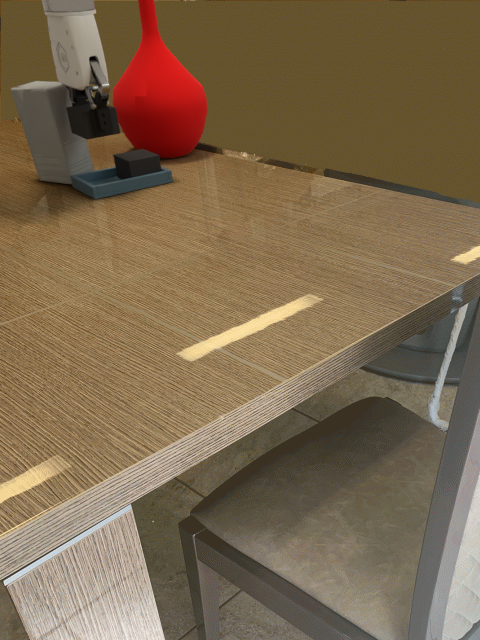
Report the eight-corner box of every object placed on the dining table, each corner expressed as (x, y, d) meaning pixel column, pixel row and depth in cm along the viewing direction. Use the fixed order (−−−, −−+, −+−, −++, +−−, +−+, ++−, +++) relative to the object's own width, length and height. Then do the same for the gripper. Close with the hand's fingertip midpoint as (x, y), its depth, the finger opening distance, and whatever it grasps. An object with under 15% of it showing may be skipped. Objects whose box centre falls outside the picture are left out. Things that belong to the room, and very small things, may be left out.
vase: (106, 151, 133) (71, -24, 115) (181, 137, 143) (161, -27, 125) (150, 170, 122) (120, -20, 104) (229, 153, 132) (214, -24, 114)
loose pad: (87, 139, 105) (81, 113, 102) (71, 133, 108) (65, 107, 106) (120, 133, 108) (115, 107, 105) (104, 127, 111) (99, 102, 109)
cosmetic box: (96, 176, 119) (76, 81, 109) (69, 187, 114) (46, 88, 104) (61, 171, 122) (39, 77, 112) (33, 181, 117) (7, 84, 107)
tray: (95, 199, 109) (92, 187, 107) (72, 187, 114) (70, 175, 113) (173, 181, 116) (171, 170, 115) (148, 171, 122) (146, 160, 121)
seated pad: (132, 184, 113) (128, 161, 111) (117, 177, 117) (112, 154, 115) (162, 178, 116) (159, 155, 114) (146, 171, 120) (143, 148, 118)
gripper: (23, 1, 100) (53, 125, 111) (68, 7, 90) (96, 144, 101) (69, -2, 104) (94, 119, 115) (117, 4, 94) (140, 136, 105)
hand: (95, 129), depth 108 cm, fingers closed on loose pad, 6 cm apart
